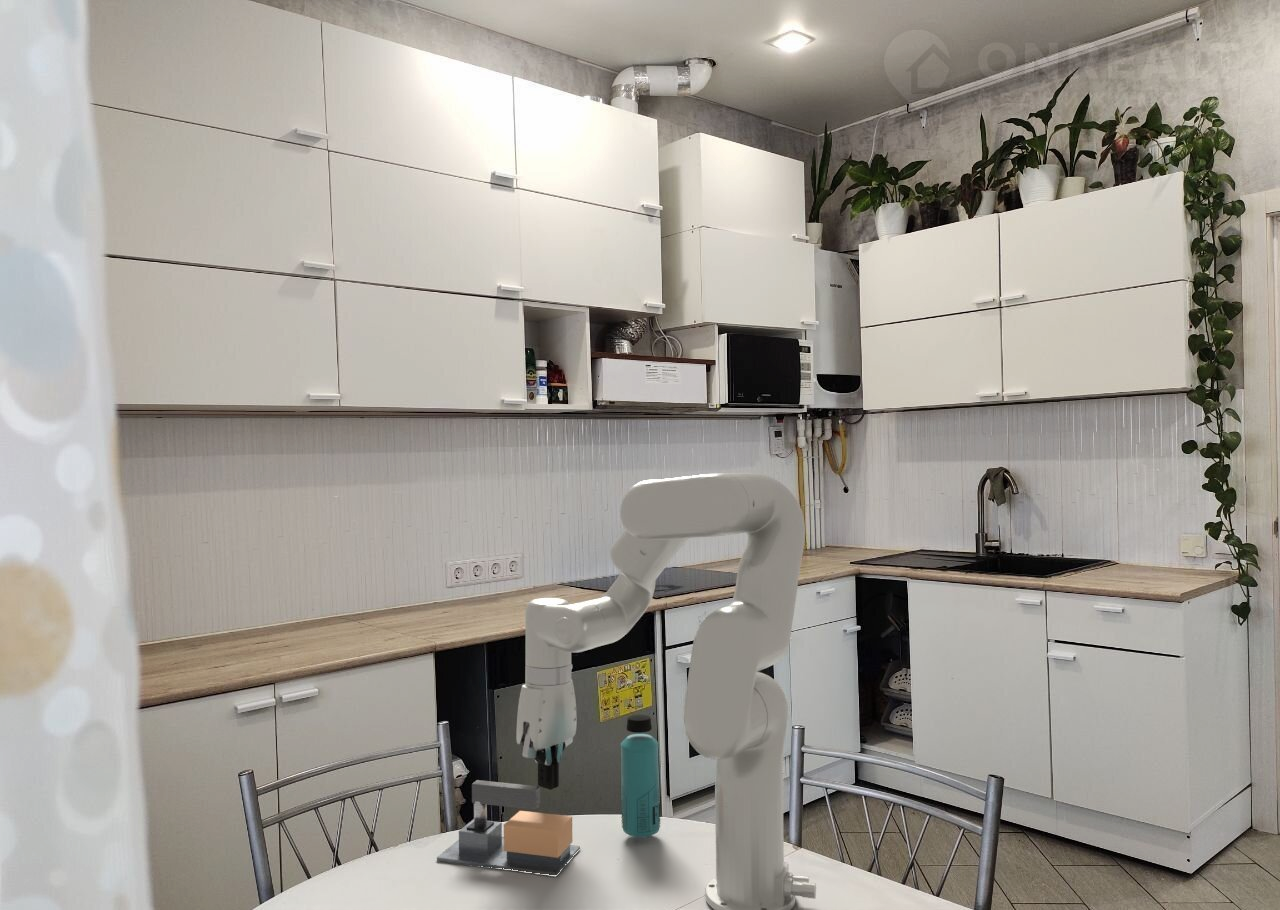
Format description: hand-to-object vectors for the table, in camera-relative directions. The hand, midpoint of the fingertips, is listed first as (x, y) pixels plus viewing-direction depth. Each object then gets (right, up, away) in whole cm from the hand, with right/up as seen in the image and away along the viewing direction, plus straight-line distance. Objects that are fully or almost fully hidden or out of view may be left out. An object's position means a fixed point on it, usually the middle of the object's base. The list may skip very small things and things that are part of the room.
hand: (548, 786), depth 149 cm
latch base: (-5, -9, -6) cm, 12 cm away
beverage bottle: (+15, -9, 0) cm, 18 cm away
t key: (-6, -4, -6) cm, 9 cm away
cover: (-1, -7, -7) cm, 10 cm away
